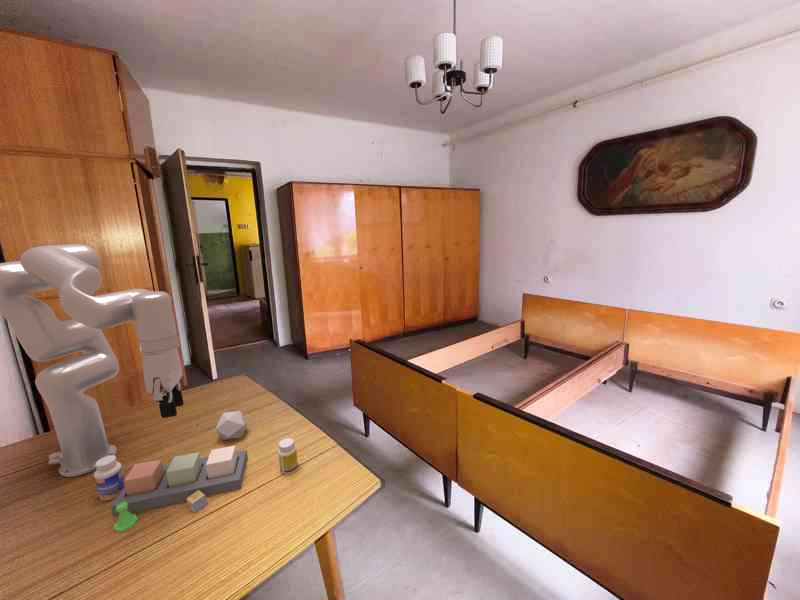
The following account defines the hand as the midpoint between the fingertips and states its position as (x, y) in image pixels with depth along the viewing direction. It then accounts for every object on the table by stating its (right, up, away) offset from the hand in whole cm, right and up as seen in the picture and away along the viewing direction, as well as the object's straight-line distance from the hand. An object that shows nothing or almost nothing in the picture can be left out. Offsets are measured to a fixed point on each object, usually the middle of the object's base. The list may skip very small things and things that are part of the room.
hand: (173, 410), depth 83 cm
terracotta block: (-8, -20, +2) cm, 22 cm away
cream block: (+9, -19, +7) cm, 22 cm away
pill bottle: (-18, -23, +3) cm, 29 cm away
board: (0, -22, +5) cm, 22 cm away
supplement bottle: (+26, -20, +11) cm, 34 cm away
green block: (0, -20, +5) cm, 20 cm away
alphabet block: (+7, -23, -2) cm, 25 cm away
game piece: (-7, -25, -6) cm, 26 cm away
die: (+3, -17, +25) cm, 31 cm away
